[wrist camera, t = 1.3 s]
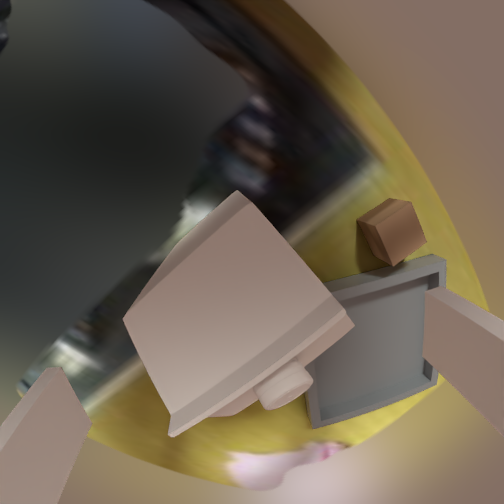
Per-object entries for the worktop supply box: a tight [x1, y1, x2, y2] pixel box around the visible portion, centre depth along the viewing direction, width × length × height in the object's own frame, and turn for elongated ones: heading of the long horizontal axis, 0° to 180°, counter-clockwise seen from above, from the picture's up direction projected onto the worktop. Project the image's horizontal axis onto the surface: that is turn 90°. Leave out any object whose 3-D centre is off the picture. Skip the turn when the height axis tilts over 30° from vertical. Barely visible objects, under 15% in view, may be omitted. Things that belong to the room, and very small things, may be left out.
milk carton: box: [123, 190, 355, 437], centre depth 18 cm, size 7×7×19 cm
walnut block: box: [357, 198, 427, 266], centre depth 26 cm, size 4×4×4 cm
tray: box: [304, 254, 446, 429], centre depth 29 cm, size 16×16×2 cm
